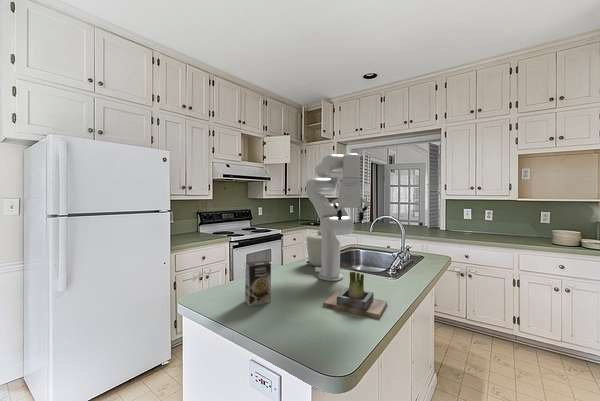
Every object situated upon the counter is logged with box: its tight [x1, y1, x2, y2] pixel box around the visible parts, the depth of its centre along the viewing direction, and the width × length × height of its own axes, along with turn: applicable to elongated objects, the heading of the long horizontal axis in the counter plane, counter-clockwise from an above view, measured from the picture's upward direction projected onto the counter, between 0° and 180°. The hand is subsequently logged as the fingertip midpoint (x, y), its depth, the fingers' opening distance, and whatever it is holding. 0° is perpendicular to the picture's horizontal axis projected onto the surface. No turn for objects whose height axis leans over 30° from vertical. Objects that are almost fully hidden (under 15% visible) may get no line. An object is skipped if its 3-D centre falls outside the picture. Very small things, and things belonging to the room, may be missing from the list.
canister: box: [305, 229, 322, 268], centre depth 174 cm, size 18×18×21 cm
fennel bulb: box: [348, 271, 365, 300], centre depth 115 cm, size 6×5×12 cm
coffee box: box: [244, 260, 272, 307], centre depth 117 cm, size 9×6×16 cm
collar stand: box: [322, 287, 388, 320], centre depth 115 cm, size 22×14×4 cm, turn 62°
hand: (350, 220), depth 128 cm, fingers open, 9 cm apart
